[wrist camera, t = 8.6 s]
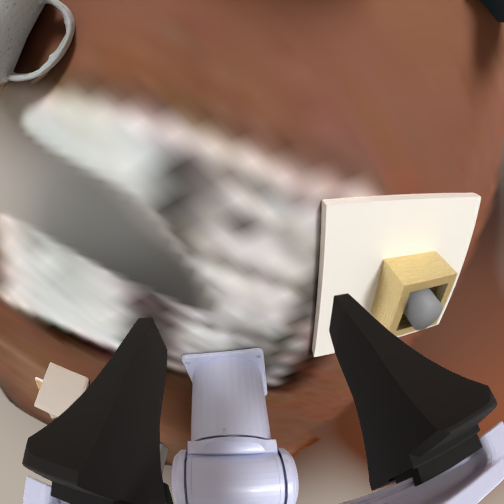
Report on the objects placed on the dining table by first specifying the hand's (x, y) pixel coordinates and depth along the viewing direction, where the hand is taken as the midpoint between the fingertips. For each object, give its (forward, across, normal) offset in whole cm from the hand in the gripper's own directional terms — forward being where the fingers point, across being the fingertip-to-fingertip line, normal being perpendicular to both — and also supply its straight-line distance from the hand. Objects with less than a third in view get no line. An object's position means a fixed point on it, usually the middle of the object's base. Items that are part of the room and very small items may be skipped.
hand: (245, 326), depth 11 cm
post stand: (+9, -14, +7) cm, 18 cm away
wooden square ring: (+8, -14, +7) cm, 18 cm away
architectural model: (+10, +24, +18) cm, 31 cm away
